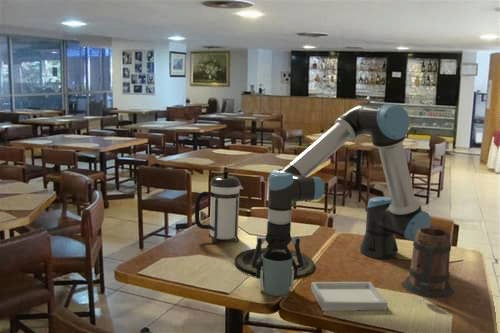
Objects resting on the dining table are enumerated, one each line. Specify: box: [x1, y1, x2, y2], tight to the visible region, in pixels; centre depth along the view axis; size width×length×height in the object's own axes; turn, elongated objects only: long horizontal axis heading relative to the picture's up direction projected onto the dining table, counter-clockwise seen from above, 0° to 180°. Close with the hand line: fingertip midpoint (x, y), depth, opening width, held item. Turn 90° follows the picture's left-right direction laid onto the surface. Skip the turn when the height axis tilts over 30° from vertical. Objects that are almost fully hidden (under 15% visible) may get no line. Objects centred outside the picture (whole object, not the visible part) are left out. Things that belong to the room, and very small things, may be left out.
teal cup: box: [262, 251, 293, 297], centre depth 162 cm, size 10×10×12 cm
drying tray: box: [310, 281, 389, 312], centre depth 158 cm, size 20×16×2 cm
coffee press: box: [194, 169, 244, 244], centre depth 211 cm, size 17×16×30 cm
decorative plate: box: [234, 247, 315, 279], centre depth 187 cm, size 30×2×30 cm
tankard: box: [401, 227, 455, 299], centre depth 165 cm, size 24×17×20 cm
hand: (276, 287), depth 163 cm, fingers closed on teal cup, 9 cm apart
